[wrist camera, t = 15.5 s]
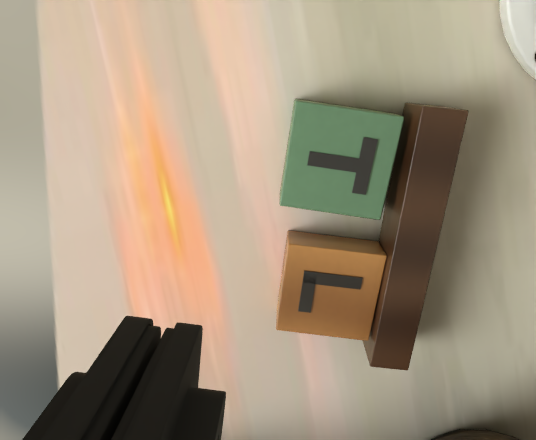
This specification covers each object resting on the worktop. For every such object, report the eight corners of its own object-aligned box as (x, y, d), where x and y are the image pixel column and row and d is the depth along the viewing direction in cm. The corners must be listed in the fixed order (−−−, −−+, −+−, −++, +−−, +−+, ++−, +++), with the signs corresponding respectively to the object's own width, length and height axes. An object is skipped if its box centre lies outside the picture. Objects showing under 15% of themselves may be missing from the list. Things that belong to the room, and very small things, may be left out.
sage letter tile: (294, 98, 26) (295, 100, 23) (393, 113, 26) (405, 116, 23) (279, 195, 28) (279, 206, 25) (372, 208, 28) (380, 221, 25)
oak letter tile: (287, 230, 28) (288, 244, 26) (378, 241, 28) (387, 256, 26) (276, 310, 30) (275, 331, 28) (361, 320, 30) (369, 342, 28)
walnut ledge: (404, 102, 26) (422, 105, 22) (444, 106, 26) (469, 110, 22) (360, 335, 31) (370, 366, 27) (394, 339, 31) (408, 370, 27)
